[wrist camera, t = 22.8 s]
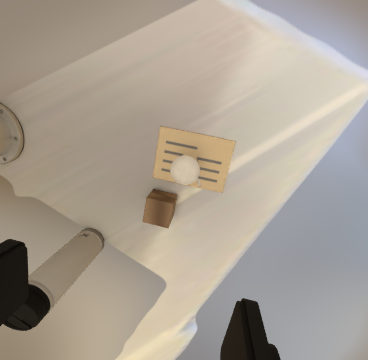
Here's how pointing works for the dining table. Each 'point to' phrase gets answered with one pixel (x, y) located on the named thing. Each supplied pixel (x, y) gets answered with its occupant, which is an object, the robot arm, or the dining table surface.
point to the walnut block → (159, 208)
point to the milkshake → (186, 169)
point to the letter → (199, 145)
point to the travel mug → (55, 278)
